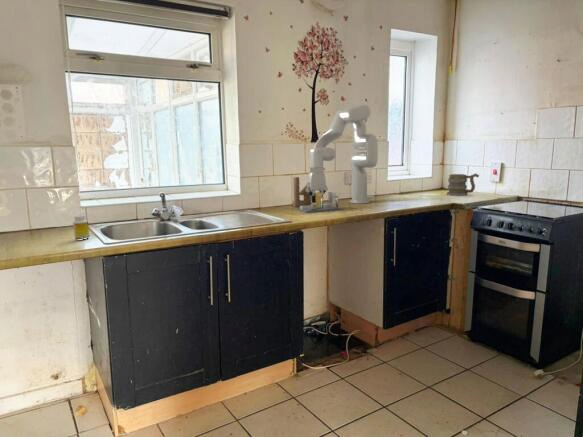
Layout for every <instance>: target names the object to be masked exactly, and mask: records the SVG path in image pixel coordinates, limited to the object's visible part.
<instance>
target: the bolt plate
mask: <svg viewBox="0 0 583 437" xmlns="http://www.w3.org/2000/svg"><path fill="white" fill-rule="evenodd" d="M296 211H299V212H301V213H305V214H311V213H314V214H315V213H321V212H322V213H323V212H332V211H342V207H340V206H338V207H336V205H334V207H324V208H313V209H300V207H296Z"/></svg>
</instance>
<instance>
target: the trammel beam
mask: <svg viewBox="0 0 583 437" xmlns="http://www.w3.org/2000/svg"><path fill="white" fill-rule="evenodd" d="M327 193H328V195H327V196H328V197H327V198H328V199H327V200H328V201H327V202H328V203H323V208H324V207H334V206H336V207H339V197H340V196H339V195H336V194H337V193H336V192H334V191H327ZM299 208H300V209H313V208H315V205H312V204H311V205H305V206H300V207H299ZM320 208H321V207H320Z"/></svg>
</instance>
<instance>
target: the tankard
mask: <svg viewBox="0 0 583 437" xmlns="http://www.w3.org/2000/svg"><path fill="white" fill-rule="evenodd" d="M448 177H449V178H447V181H448V186H447V189H448V191H447V192H446V195H447V196H451V197H452V196H453V197H463V196H464V197H465V196H468V193H473V192H474V191H475V189H476V184H475V182H474V178H479V177H480V175H479V174H478V173H474V174H471V175H467V174H464V173H461V174H459V173H458V174H457V173H454V174H449V175H448ZM468 179H469V181H470V186H471V187H470V189H467V187H468V186H467V182H468Z"/></svg>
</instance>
